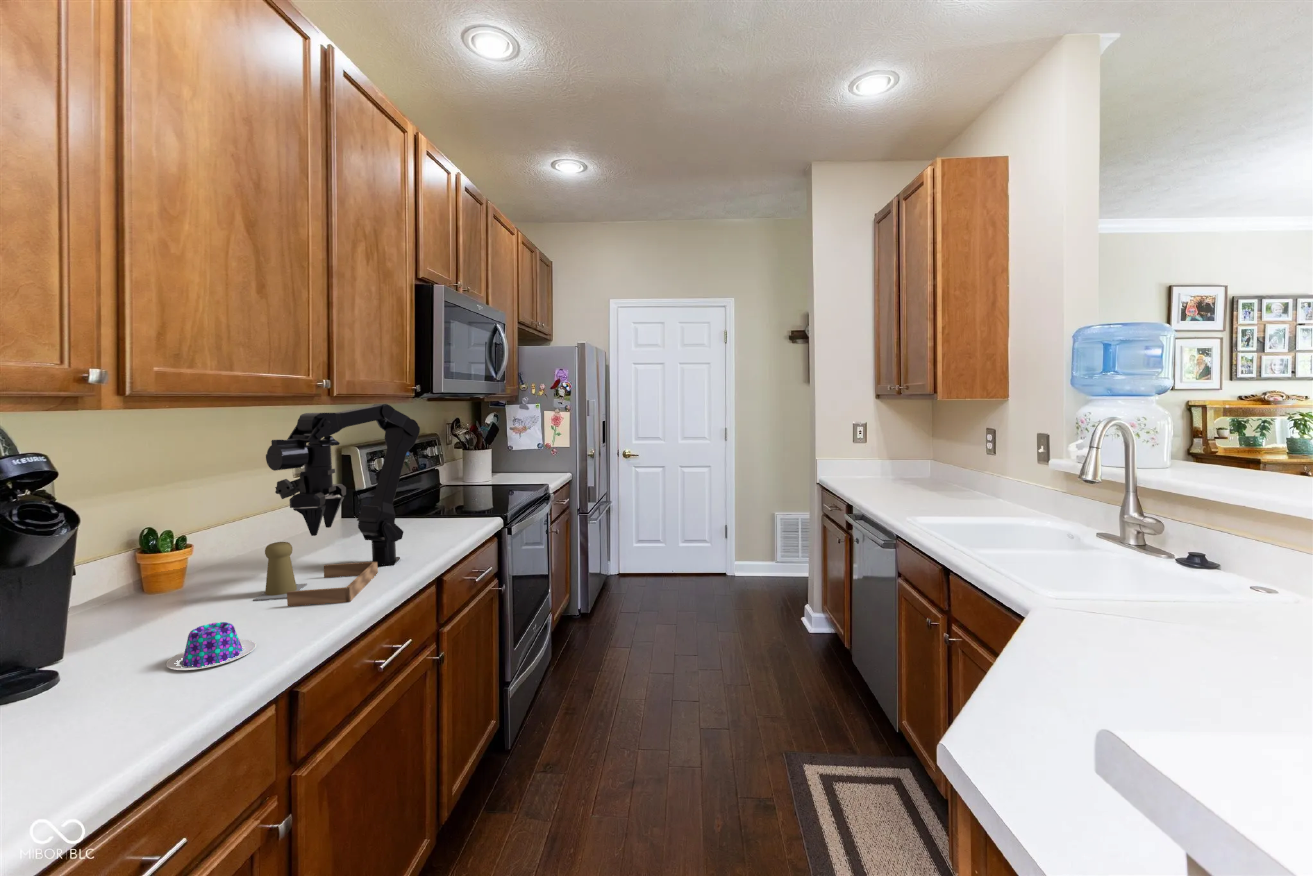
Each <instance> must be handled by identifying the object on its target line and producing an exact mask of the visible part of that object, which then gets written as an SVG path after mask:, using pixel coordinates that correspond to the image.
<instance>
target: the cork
mask: <svg viewBox="0 0 1313 876" xmlns="http://www.w3.org/2000/svg"><path fill="white" fill-rule="evenodd" d="M292 545H293V544H291V543H290V542H288V541H277V542H272V543H269V544H268V545H266V547H265V549H264V555H265V557H266V558H267V559H268V561H267V570H266V581H265V591H264V592H265V594H266V595H271V596H272V595H282V594H287V592H288V591H295V590H296V589H297V586H296V584H297V582H296V579H295V574H294V573H295V572H294V569H293V565H292V560H291V555H292V554H293V546H292Z"/></svg>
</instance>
